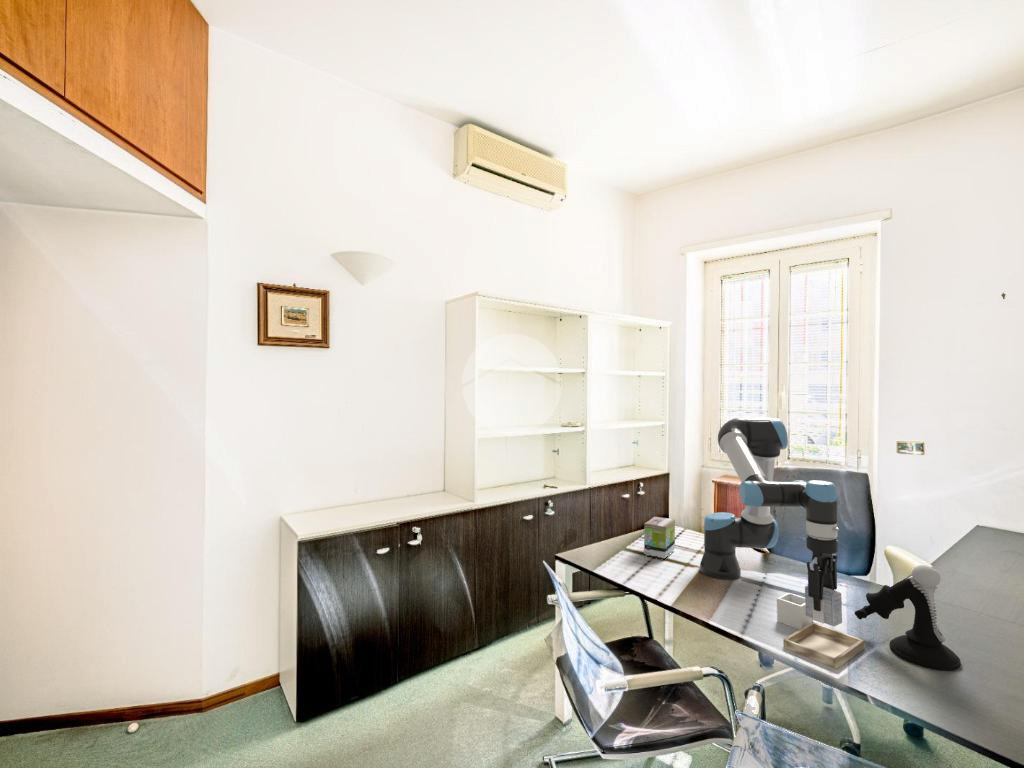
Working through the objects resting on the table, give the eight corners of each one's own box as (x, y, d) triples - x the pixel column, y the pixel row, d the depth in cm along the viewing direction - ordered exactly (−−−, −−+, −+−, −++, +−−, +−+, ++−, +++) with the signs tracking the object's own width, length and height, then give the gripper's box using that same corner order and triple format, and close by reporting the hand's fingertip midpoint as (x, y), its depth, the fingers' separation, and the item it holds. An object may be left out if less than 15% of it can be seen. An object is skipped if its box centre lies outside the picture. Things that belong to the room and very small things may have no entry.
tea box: (666, 560, 212) (665, 526, 213) (643, 556, 218) (643, 523, 218) (675, 550, 225) (675, 518, 225) (653, 547, 230) (653, 515, 231)
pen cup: (777, 623, 155) (776, 598, 155) (788, 617, 159) (788, 592, 159) (801, 633, 149) (801, 606, 149) (813, 626, 153) (812, 600, 153)
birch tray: (783, 649, 140) (783, 639, 140) (812, 631, 150) (812, 621, 150) (836, 672, 129) (836, 660, 129) (864, 650, 139) (864, 640, 139)
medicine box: (842, 623, 137) (842, 592, 137) (833, 627, 135) (833, 595, 135) (814, 612, 144) (813, 582, 144) (804, 616, 142) (804, 585, 142)
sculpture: (955, 678, 125) (954, 580, 126) (847, 642, 143) (846, 557, 143) (964, 656, 135) (962, 565, 136) (862, 625, 153) (860, 545, 153)
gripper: (821, 545, 131) (823, 633, 131) (850, 533, 141) (851, 615, 141) (792, 538, 137) (794, 622, 137) (821, 528, 148) (823, 605, 147)
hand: (823, 618), depth 139 cm, fingers closed on medicine box, 5 cm apart
